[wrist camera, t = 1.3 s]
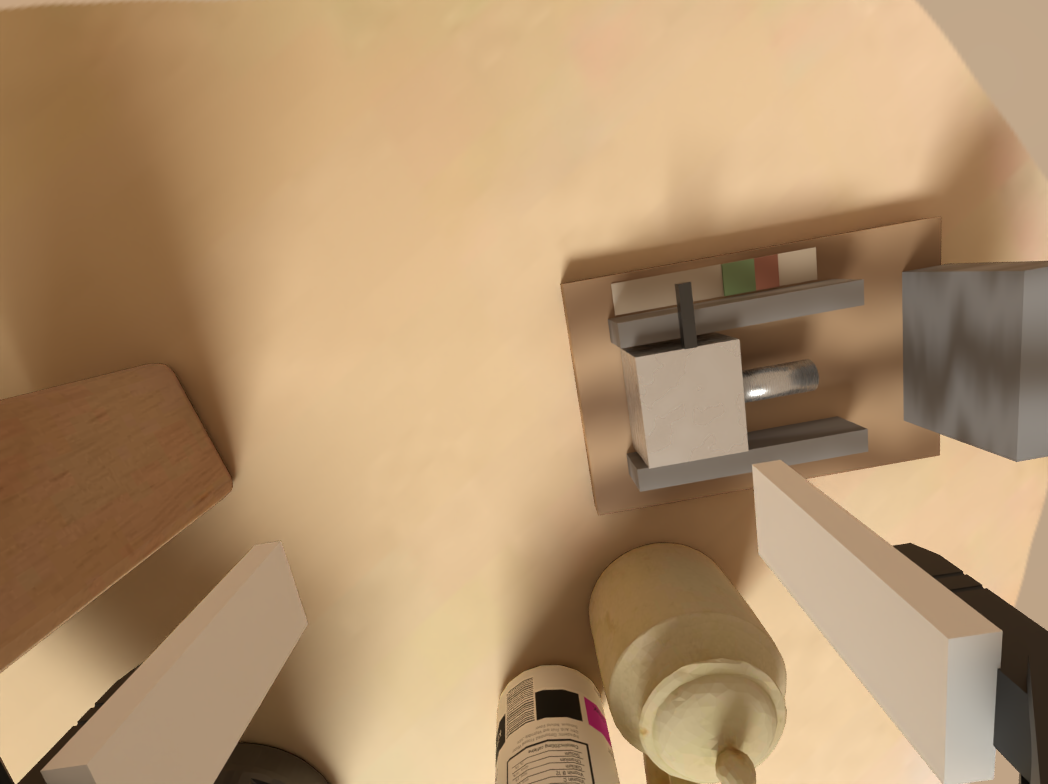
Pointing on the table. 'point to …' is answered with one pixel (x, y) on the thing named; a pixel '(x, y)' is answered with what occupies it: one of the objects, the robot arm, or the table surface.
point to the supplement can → (553, 730)
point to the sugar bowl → (686, 667)
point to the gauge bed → (825, 357)
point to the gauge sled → (698, 391)
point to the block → (93, 492)
